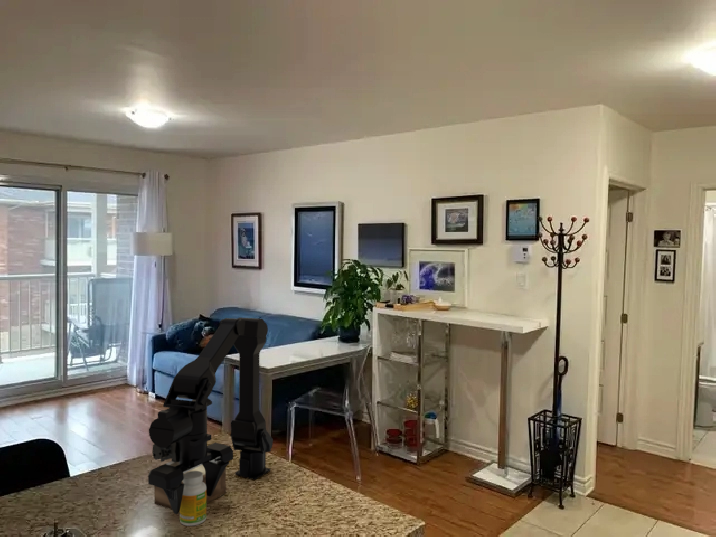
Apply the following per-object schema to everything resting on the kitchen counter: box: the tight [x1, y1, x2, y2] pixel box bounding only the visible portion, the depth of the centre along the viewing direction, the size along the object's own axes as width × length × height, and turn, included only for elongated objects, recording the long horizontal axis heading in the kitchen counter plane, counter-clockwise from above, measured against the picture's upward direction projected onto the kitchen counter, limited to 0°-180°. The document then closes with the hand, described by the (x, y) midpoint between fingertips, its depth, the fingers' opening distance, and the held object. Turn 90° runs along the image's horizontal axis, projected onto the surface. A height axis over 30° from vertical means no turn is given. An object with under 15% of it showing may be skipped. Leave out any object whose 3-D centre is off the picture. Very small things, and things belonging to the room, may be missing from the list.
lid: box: [165, 460, 205, 482], centre depth 126 cm, size 9×9×2 cm
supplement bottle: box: [179, 471, 207, 527], centre depth 116 cm, size 5×5×10 cm
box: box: [153, 467, 227, 513], centre depth 126 cm, size 12×10×6 cm
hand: (193, 504), depth 116 cm, fingers open, 9 cm apart
